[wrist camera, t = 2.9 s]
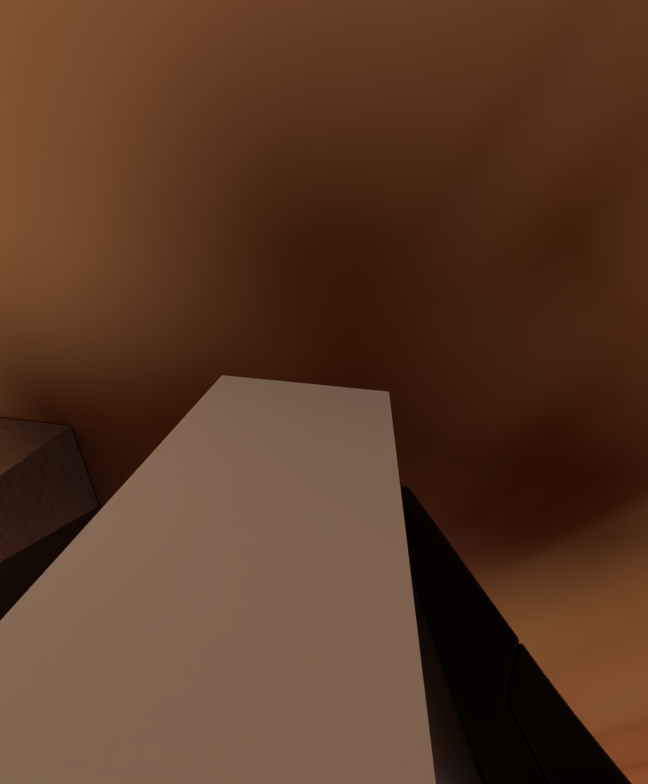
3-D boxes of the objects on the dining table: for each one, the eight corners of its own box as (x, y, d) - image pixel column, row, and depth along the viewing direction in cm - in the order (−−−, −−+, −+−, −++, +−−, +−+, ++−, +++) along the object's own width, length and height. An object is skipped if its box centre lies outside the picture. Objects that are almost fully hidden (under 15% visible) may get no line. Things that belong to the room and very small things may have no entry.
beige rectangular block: (388, 391, 8) (463, 1013, 2) (364, 542, 10) (360, 1026, 4) (222, 375, 8) (-214, 858, 2) (236, 525, 11) (56, 953, 4)
